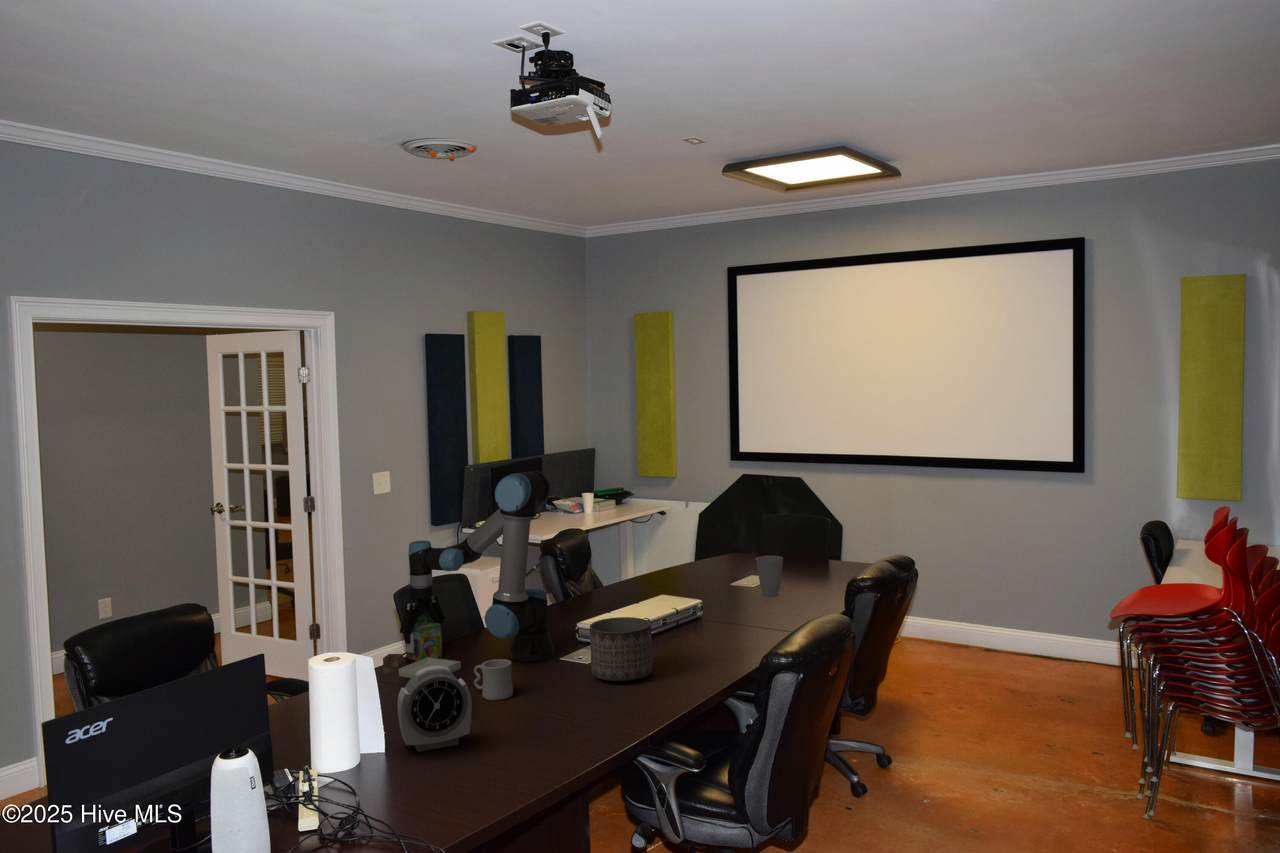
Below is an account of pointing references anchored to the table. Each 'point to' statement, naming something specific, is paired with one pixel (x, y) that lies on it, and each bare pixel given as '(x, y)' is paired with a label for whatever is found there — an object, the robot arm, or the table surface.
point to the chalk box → (426, 640)
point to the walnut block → (393, 663)
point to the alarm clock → (434, 709)
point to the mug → (495, 679)
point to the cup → (769, 574)
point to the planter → (621, 649)
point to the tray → (427, 662)
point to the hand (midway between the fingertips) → (423, 647)
